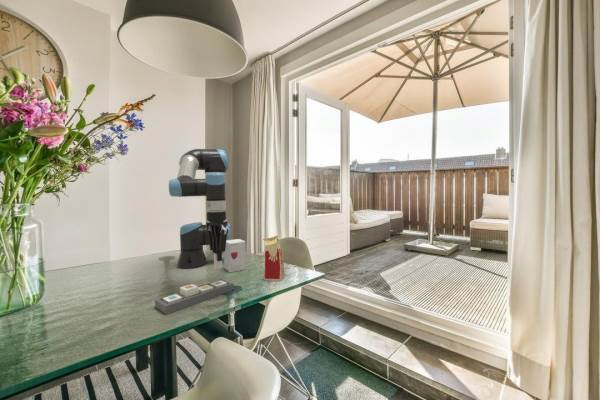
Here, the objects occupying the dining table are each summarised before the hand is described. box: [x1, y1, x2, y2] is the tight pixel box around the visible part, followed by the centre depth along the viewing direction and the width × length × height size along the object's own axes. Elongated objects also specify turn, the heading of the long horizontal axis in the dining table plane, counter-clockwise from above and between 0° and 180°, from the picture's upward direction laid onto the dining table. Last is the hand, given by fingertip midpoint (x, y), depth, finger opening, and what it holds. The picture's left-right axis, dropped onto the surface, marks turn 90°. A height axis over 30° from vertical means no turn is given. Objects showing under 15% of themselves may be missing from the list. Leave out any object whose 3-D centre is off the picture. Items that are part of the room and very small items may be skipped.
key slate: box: [210, 279, 227, 288], centre depth 108 cm, size 5×5×3 cm
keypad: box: [154, 278, 235, 315], centre depth 101 cm, size 9×27×3 cm, turn 139°
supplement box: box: [223, 238, 247, 273], centre depth 137 cm, size 9×9×15 cm
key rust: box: [179, 283, 199, 298], centre depth 98 cm, size 5×5×3 cm
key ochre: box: [198, 284, 213, 293], centre depth 103 cm, size 5×5×3 cm
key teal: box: [163, 294, 182, 304], centre depth 94 cm, size 5×5×3 cm
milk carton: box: [262, 235, 286, 282], centre depth 123 cm, size 9×9×20 cm
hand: (218, 268), depth 108 cm, fingers closed
